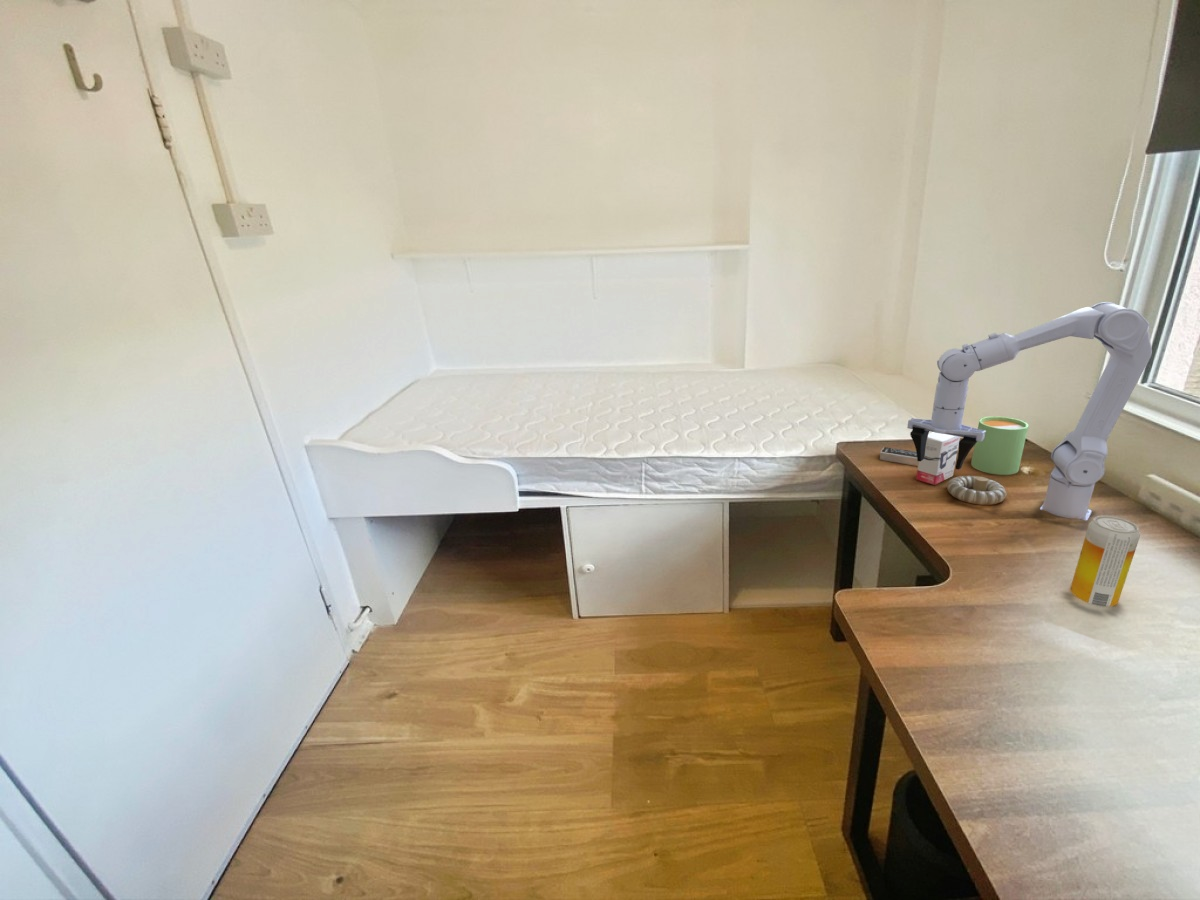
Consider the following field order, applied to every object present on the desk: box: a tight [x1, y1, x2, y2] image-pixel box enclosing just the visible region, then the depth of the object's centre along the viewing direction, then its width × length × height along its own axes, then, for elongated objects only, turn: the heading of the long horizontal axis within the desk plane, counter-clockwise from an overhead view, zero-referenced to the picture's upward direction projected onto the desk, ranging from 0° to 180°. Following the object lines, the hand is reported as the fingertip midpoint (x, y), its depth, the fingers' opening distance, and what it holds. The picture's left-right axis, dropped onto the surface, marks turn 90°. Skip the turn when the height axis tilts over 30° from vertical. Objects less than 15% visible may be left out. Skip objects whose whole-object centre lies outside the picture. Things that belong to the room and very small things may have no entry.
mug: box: [970, 416, 1030, 476], centre depth 141 cm, size 13×10×12 cm
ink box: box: [915, 431, 961, 486], centre depth 137 cm, size 8×5×12 cm, turn 122°
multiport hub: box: [879, 446, 919, 467], centre depth 149 cm, size 4×11×2 cm, turn 52°
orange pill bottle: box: [1069, 515, 1141, 607], centre depth 90 cm, size 6×6×15 cm
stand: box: [971, 476, 989, 491], centre depth 125 cm, size 8×8×6 cm
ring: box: [946, 475, 1007, 506], centre depth 126 cm, size 11×11×3 cm
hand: (939, 464), depth 123 cm, fingers open, 7 cm apart
